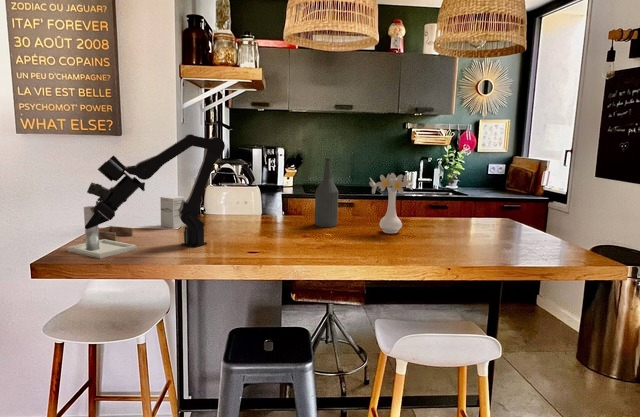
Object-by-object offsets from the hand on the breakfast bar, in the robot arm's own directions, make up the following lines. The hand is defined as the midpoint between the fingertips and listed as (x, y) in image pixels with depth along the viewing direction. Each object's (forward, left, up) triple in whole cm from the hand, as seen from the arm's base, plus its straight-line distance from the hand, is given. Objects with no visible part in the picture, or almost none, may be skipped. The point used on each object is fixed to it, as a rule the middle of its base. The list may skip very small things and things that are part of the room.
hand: (86, 225), depth 153 cm
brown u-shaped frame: (+10, -18, -9) cm, 22 cm away
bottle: (-44, -86, -9) cm, 97 cm away
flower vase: (-73, -88, -9) cm, 115 cm away
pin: (-1, -1, -8) cm, 8 cm away
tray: (-3, -3, -9) cm, 10 cm away
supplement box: (+8, -46, -9) cm, 48 cm away
